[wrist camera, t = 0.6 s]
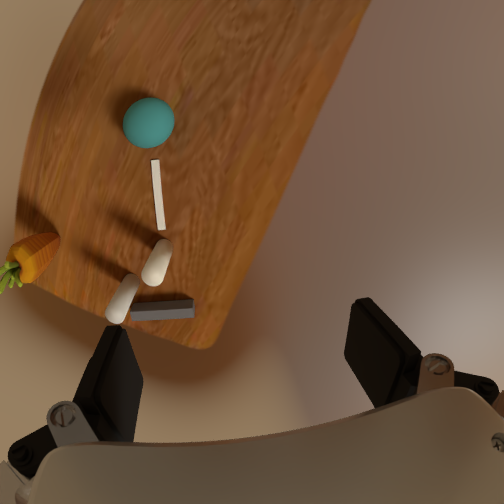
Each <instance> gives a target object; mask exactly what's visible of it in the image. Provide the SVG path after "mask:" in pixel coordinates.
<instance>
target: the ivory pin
mask: <svg viewBox="0 0 504 504" xmlns="http://www.w3.org/2000/svg"><path fill="white" fill-rule="evenodd" d="M172 251H173V244H172V243H171V242H170V241H169V240H167V239H161V240H159V241H158V242H157V243H156V245H155V247H154V249H153V251H152V253H151V255H150V257H149V259H148V260H147V262H146V264H145V266H144V268H143V270H142V274H141V275H142V279H143V281H144V282H145V283H146V284H147V285H150V286H157V285H159V284H161V283H162V281H163V279H164V276H165V272H166V269H167V266H168V263H169V260H170V257H171V254H172Z"/></svg>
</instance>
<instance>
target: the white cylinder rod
mask: <svg viewBox="0 0 504 504" xmlns="http://www.w3.org/2000/svg"><path fill="white" fill-rule="evenodd" d="M139 284H140V280H139V278H138V276H136V275H135V274H132V273H129V274H127V275H126V276H125V277H124V279H123V281H122V282H121V284H120V286H119V287H118V289H117V291H116V293H115V294H114V296H113V298H112V300H111V301H110V303H109V305H108V307H107V308H106V311H105V315H106V317H107V319H108V320H109V321H110V322H112V323H115V324H119V323H121V322H123V320H124V318H125V316H126V314H127V311H128V309H129V307H130V304H131V302H132V300H133V298H134V295H135V293H136V291H137V289H138V287H139Z"/></svg>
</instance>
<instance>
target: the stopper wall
mask: <svg viewBox="0 0 504 504" xmlns="http://www.w3.org/2000/svg"><path fill="white" fill-rule="evenodd" d="M194 312H195V307H194V300H193V299H189V300H175V301H160V302H143V303H133V306H132V308H131V310H130V314H131V318H132V321H142V320H162V319H179V318H193V317H194Z"/></svg>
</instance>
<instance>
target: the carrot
mask: <svg viewBox="0 0 504 504" xmlns="http://www.w3.org/2000/svg"><path fill="white" fill-rule="evenodd" d="M59 246H60V236H59V235H58V234H56V233H53V232H47V233H40V234H35V235H32V236H29V237H26V238H24V239H22V240H20V241H19V242H17V243H15V244H13V245H12V246H11V248H10V250H9V253H8V255H7V258H6V262H5V265H4V266H2V267H1V268H0V275H2V274H3V273H4V272H6V271H7V270H8V271H7V272H6V274H5V275H4V276H3V277H2V279H1V281H0V294H2V292H3V290H4V288H5V286H6V284H7V281H8V280H9V278H10V276H11V278H10V280H9V283H8V285H9V287H10V288H12V287H13V284H14V281H16V283H17V284H18V285H19V287H21V286H22V285H23V284H22V283H31V282H33V281H34V280H35V279H36V278H37V277H38V276H39V275H40V274H41V273H42V272H43V271H44V270H45V269H46V268H47V267H48V265H49V264H50V262H51V261H52V259H53V258H54V256H55V254H56V252H57V250H58V249H59Z"/></svg>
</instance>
